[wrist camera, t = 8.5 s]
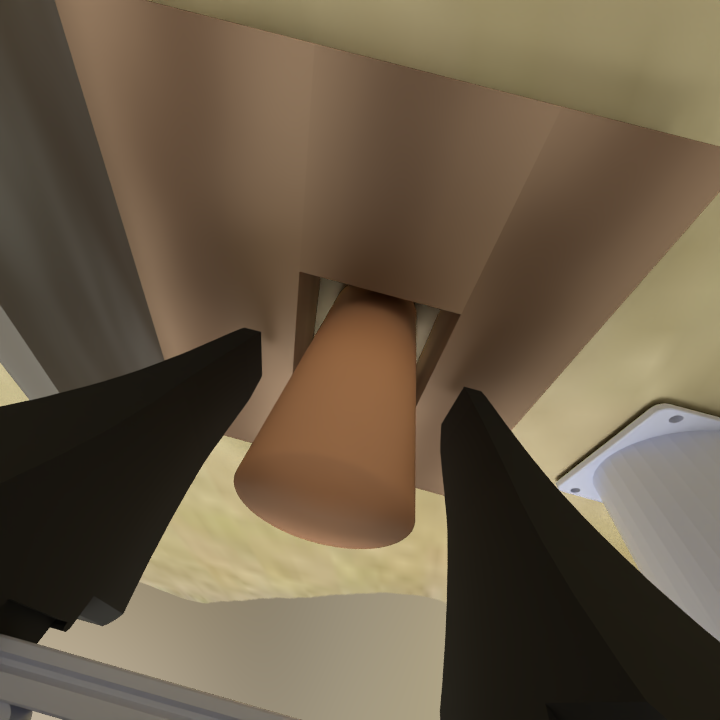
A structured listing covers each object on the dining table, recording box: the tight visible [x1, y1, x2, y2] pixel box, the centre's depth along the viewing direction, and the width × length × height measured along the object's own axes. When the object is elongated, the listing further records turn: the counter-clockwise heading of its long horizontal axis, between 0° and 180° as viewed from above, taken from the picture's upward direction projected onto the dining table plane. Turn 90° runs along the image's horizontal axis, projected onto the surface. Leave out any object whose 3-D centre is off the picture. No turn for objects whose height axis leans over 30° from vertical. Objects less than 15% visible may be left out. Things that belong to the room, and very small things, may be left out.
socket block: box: [0, 0, 720, 496], centre depth 10 cm, size 18×16×7 cm
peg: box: [234, 285, 416, 549], centre depth 10 cm, size 4×4×9 cm
